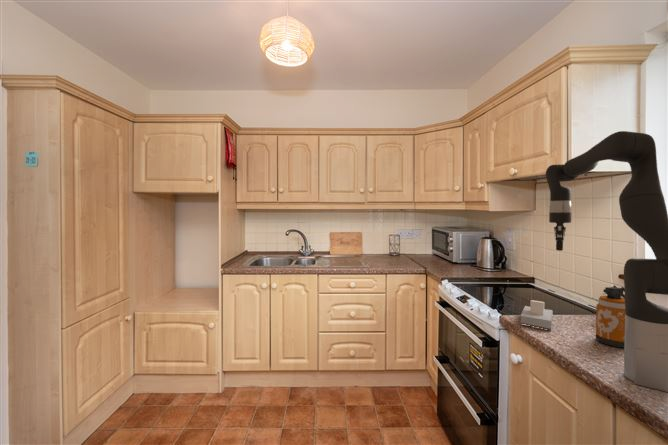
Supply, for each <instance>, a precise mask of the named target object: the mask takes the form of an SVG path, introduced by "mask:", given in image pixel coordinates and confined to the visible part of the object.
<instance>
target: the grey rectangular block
mask: <svg viewBox="0 0 668 445" xmlns="http://www.w3.org/2000/svg"><path fill="white" fill-rule="evenodd" d="M553 314H554V312H553V309H547V308H544V315H538V314H532V313H530V306H527V305H524V308H523V310H522V312H521V314H520V325H521V324H526V325H530V326H534V327H539V328H543V329H547V330H551V331H552V327H551V326H552V325H553V318H554V316H553ZM547 330H546V331H547Z"/></svg>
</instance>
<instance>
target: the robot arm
mask: <svg viewBox="0 0 668 445" xmlns="http://www.w3.org/2000/svg"><path fill="white" fill-rule="evenodd" d="M656 146H657V145H656V140H655V139H654V138H653V136H652V135H650V134H648V133H644V132H635V131H629V130H628V131H627V130H626V131H625V130H622V131H616V132H614V133H611V134H610V135H608V136H606V137H605V138H603V139H601V141H599V142H598V143H596V144H595V145H594V146H592V147H591V148H590V149H589V150H587V151H585V152H584V153H582V154H580V155H577V156H575V157H572V158H571V159H569V160H566V162H565V163H564V164H550V165H549V166H548V167H547V168H546V169H545V170H546V171H545V179H546V182H547V185H548V188H549V194H550V196H549V206H548V207H549V209H548V210H549V211H548V213H549V215H548V221H549V223H552V224H553V223H554V224H556V226H554V227H553V231H554V237H555V238H554V239H555V250H556V251H563V249H564V241H565V236H566V230H567V227H566V226H565V225H564V224H570V223H572V208H573V207H572V201H571V200H572V189H571V187H569V186H565V185H563V184H561V182H570V181H573V180H575V179H576V178H578V177H580V175H584V174H586V173H589V172H591V171H594V169H595V168H596V167H597V166H598V164H599V163H600V162H601V161H602V162H603V161H607V160H610V161H613V162H620V163H628V164H629V167H630V171H631V172H630V173H631V177H630V179H629V181H628V182H627V184H626V185H625V187H624V188H622V191H621V192H620V194H619V197H618V203H619V209H620V216H621V218H622V221H623V222H624V223H625V224H626V225H627V227H629V228H630V229H631V230H632V231H633V232H635V233H636V234H637V235H638V237H639V236H640V238H642V239H643V240H644V241H645V242H646V243H647V244H648V246H649V247H650V248H651V251H652V253H653V255H654V257H655V258H641V257H640V258H639V257H638V258H635V257H634V258H633V257H632V258H628V259H627V260H626V262H625V263H624V267H623V287H624V288H625V292H624V295H625V345H624V347H623V349H624V352H623V353H624V354H623V375H624V377H625V378H626V379H628V380H630V381H631V382H633V384H634V385H638V386H643V387H645V388H650V389H653V390H658V391H661V392H662V391H663V392H666V393H668V307H665V306H662V305H660V304H656V303H654V302H652V301H650V300H648V299H647V295H646V294H652V295H653V294H654V295H664V296H665V295H667V296H668V209H667V206H666V202H665V200H666V199H665V197H664V193H663V191H662V187H661V180H660V177H659V169H658V160H657V147H656Z"/></svg>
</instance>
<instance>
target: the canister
mask: <svg viewBox="0 0 668 445" xmlns="http://www.w3.org/2000/svg"><path fill="white" fill-rule="evenodd" d="M605 294H607V296H606V295H605ZM621 296H622V297H623V298H621ZM595 307H596V308H595V314H596V315H595V339H596V340H598V342H600V343H603V344H605V345H608V346H610V347H615V348H624V345H625V288H624V286H622V287H617V286H616V285H613V286H611V287H610V286H609V287H605V288H604V289H603V295H600V296H599V297H598V303H597V304H596V306H595Z"/></svg>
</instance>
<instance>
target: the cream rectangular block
mask: <svg viewBox="0 0 668 445" xmlns="http://www.w3.org/2000/svg"><path fill="white" fill-rule="evenodd" d="M529 304H530V306H529V307H530V313H532V314H538V315H544V309H545V301H541V300H533V299H531V300H530V302H529Z"/></svg>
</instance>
